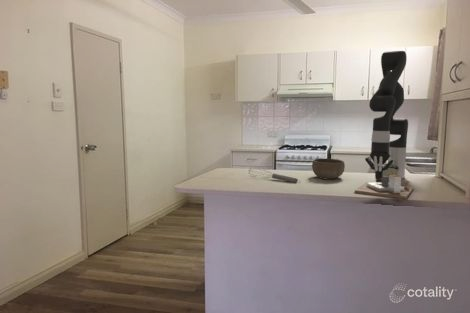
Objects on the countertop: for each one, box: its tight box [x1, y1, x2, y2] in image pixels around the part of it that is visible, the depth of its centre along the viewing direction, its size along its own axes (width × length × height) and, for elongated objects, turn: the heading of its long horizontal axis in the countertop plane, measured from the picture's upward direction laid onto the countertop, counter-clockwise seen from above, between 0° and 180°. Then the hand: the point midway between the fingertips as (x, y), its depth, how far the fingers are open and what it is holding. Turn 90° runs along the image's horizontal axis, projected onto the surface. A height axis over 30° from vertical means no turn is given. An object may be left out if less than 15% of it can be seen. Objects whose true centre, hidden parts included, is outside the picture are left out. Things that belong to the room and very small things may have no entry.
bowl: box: [311, 158, 346, 180], centre depth 203 cm, size 17×18×10 cm
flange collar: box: [367, 175, 404, 194], centre depth 166 cm, size 16×12×8 cm
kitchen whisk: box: [248, 165, 301, 184], centre depth 198 cm, size 6×34×6 cm, turn 50°
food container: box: [374, 163, 399, 183], centre depth 187 cm, size 12×6×10 cm, turn 59°
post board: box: [354, 176, 415, 199], centre depth 169 cm, size 22×22×7 cm
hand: (378, 179), depth 162 cm, fingers closed
